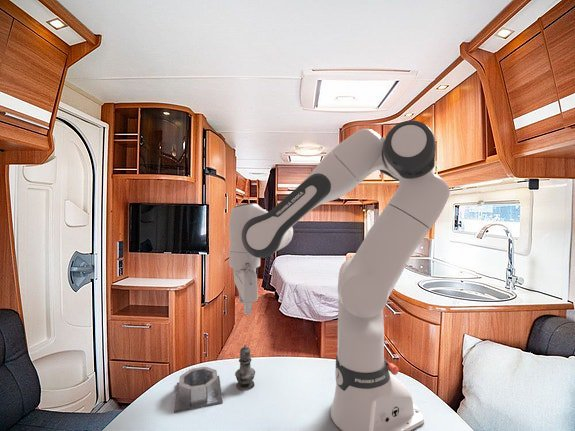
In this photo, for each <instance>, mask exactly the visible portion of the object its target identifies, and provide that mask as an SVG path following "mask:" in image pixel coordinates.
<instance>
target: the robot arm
mask: <svg viewBox="0 0 575 431" xmlns="http://www.w3.org/2000/svg"><path fill="white" fill-rule="evenodd" d="M436 146H437V142H436V139H435V135H434V132H433V130H431V128H430V127H429V126H428V125H427V124H426V123H424V122H421V121H419V120H413V119H412V120H410V119H409V120H405V121H402V122H400V123H397V124H396V125H395V126H393V127H392V128H391V129H390V130H389V131H388V133H387V134H386V136H385V137H384V136H383V137H382V136H381V135H380V134H378V132H376V131H374V130H373V129H371V128H362V129H359V130H357V131H355V132H354V133H352V134H351V135H349V136H348V137H347V138H345V139H344V140H343V141H341V142H340V143H339V144H338V145H336V146H335V147H334V148H333V149H332V150H331V151H330V152H329V153H328V154H326V156H324V158H323V159H322V160H321V161H320V162H319V163H318V164H317V166H315V167H314V169H313V170H312V171H311V172H310V173H309V175H308V176H307V177H306V178H305V179H304V180H303V181H302V182H301V183H300V184H299V185H298V186H297V187H296V188H295V189H294V190H293V191H291V192H290V193H289V194H288V195H287V196H286V197H284V198H283V199H282V200H281V201H280V202H279V203H278V204H276V205H275V206H274V207H273V208H272V209H271V210H269V211H268V210H265V209H264V208H263V207H261V206H260V205H259V204H257V203H255V202H252V203H251V202H249V203H242V204H237V205H236V206H234V207H233V208H232V209H231V211H230V215H229V226H228V227H229V228H228V236H229V239H230V245H229V249H228V250H229V251H228V257H229V258H228V259H229V261H228V265H229V268H231V269H232V274H233V281H234V284H235V287H236V288H237V290H238V301H239V303H240V304H244V306H243V312H244V315H247V316H248V315H251V314H252V307H253V303H255V302H257V301H258V300H259V299H258V297H259V295H258V294H259V293H258V275H257V268H260V267H261V259H264V258H268V257H270V256H272V255H273V254H275V253H277V251H279V250H281V249H283V248H285V247H286V246H288V245H289V244H290V243H291V242H292V240H293V238H294V227H293V226H294V225H296V224H297V223H298V222H299V221H300V220H301V219H303V218H304V217H305V216H306V215H307V214H309V212H311V211H312V210H314V209H315V208H317V207H318V206H321V205H323V204H325V203H326V204H327V203H328V202H332V201H334V200H338V199H340V198H341V197H343V196H345V195H346V194H348V193H350V192H351V191H353V190H354V189H355V188H356V187H357V186H359V184H360V183H362V182H363V181H364V180H366V178H368V177H369V175H371V174H372V173H374V172H376V171H379V172H380V173H382V174H384V175H387V176H388V177H389V178H392V179H393V180H395V181H398V182H399V184H398V186H397V189H396V191H395V193H394V194H393V196H392V197H391V198H390V199H389V201H388V203H387V204H386V206H385V207H384V209H383V210H382V211H381V213H380V214H379V216H378V217H377V218H376V220H375V222H373V224H372V226H371V227H370V229H369V230H368V231H367V233H366V236H365V237H364V239H363V241H362V242H361V244H360V246H359V247H358V249H357V250H356V252H355V254H354V256H351V257H348V258H347V259H346V260H345V261H344V262H343V263H342V264H341V266H340V268H339V272H338V281H337V293H338V305H337V306H338V308H337V355H336V356H335V369H334V370H335V390H334V396H333V400H332V401H333V402H332V404H331V407H330V410H329V411H330V418H331V419H332V422H334V424H335V426H336V427H338V428H339V429H340V430H341V431H413V430H414V429H417V428H418V427H420V426H422V425H423V424H424V423H425V420H424V415H423V413H422V412H421V410H420V408H419V407H418V406H417V405H416V404H415V403H414V401H413V397H412V395H411V392H410V390H409V389H408V388H407V386H406V385H405V384H404V383H403V382H401V381H400V379H398V378H397V377H396V375H398V373H399V371H400V370H399V367H398V366H397V365H395V364H394V362H393V363H392V362H389V361H388V360H387V359H386V358H385V357H384V356H385V328H384V327H385V326H384V325H385V324H384V311H383V310H384V309H385V307H386V305H387V303H388V299H389V297H390V295H391V294H392V292H393V290H394V289H395V287H396V285H397V283H398V281H399V280H400V278H401V276H402V274H403V272H404V270H405V267H406V266H407V264H408V262H409V260H410V258H411V257H412V256H413V254H414V253H415V252H416V250H417V249H418V247H419V245H420V244H421V243H422V242H423V240H424V239H425V238H426V236H427V235H428V234H429V232H430V230H431V229H432V228H433V226H435V223H436V222H437V220H438V219H439V218H440V216H441V214H442V212H443V210H444V208H445V206H446V204H447V202H448V199H449V198H450V195H451V192H450V187H449V185H448V184H447V182H446V180H444V179H443V178H442V177H441V176H439V175H437V174H436V173H435V172H433V169H434V168H435V163H436V162H435V161H436V149H437V147H436Z"/></svg>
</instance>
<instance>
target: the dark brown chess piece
mask: <svg viewBox="0 0 575 431" xmlns="http://www.w3.org/2000/svg"><path fill="white" fill-rule="evenodd" d="M239 354H240V355H239V359H238V362H239V368H238V369H237V370H236V371H235V373H234V376H235V377H236V381H237V382H236V383H235V384H236V386H235V387H236V389H237V390H239V391H242V392H243V391H244V392H245V391H250V390H252V389H253V388H254V387H255V382H254V379H255V376H256V370H255V369H254V368H252V367H251V362H252V358H251V349H250V347H248V346H247V345H246V344H244V345H243V347H241V349H240V351H239Z"/></svg>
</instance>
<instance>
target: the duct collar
mask: <svg viewBox="0 0 575 431" xmlns="http://www.w3.org/2000/svg"><path fill="white" fill-rule="evenodd" d="M223 403H224V402H223V393H222V387H221V380H220V375H218V372H217V369H215V368H211V367H207V366H200V367H193V368H191V369H189V370H187V371H186V372H184V373H183V374H181V375H180V376H179V380H178V382H176V388H175V398H174V408H173V413H180V412H185V411H189V410H195V409H200V408H205V407H210V406H214V405H215V406H216V405H220V404H223Z"/></svg>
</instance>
